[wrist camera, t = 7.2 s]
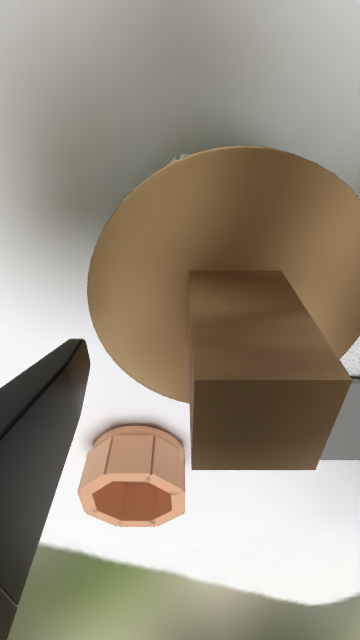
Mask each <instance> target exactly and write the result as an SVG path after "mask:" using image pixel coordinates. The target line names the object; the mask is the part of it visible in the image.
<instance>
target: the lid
mask: <svg viewBox="0 0 360 640" xmlns="http://www.w3.org/2000/svg"><path fill="white" fill-rule="evenodd" d="M87 296H88V305H89V311H90V315H91V319H92V322H93V326H94V328H95V331H96V333H97V335H98V337H99V340H100V341H101V343H102V345H103V346H104V348H105V350H106V351H107V353H108V354H109V355H110V356H111V358H112V359H113V360H114V361H115V363H116V364H117V365H118V366H119V367H120V368H121V369H122V370H123V371H124V372H125V373H127V374H128V375H129V376H130V377H132V378H133V379H134V380H136V381H137V382H138V383H140V384H142V385H143V386H145V387H147V388H148V389H150V390H152V391H154V392H156V393H159V394H161V395H163V396H165V397H168V398H171V399H174V400H177V401H181V402H186V403H190V431H191V465H192V470H315V469H316V467H317V464H318V462H319V460H320V457H321V455H322V452H323V450H324V448H325V445H326V443H327V440H328V438H329V436H330V433H331V431H332V428H333V426H334V424H335V421H336V419H337V417H338V414H339V412H340V409H341V407H342V405H343V402H344V400H345V397H346V395H347V393H348V390H349V388H350V385H351V383H352V381H353V380H352V378H351V377H350V375H349V374H348V372H347V371H346V369H345V368H344V366H343V365H342V363H341V361H340V360H339V359H340V358H341V357H342V356H343V355H344V354H345V353H346V352H347V351H348V350H349V348H350V347H351V346H352V345H353V343H354V342H355V341H356V340H357V338H358V337H359V335H360V199H359V198H358V197H357V195H356V194H355V193H354V192H353V190H352V189H351V188H350V187H349V186H347V185H346V184H345V183H344V182H343V181H342V180H341V179H340V178H338V177H337V176H336V175H335V174H333V173H332V172H330V171H328V170H327V169H325V168H323V167H322V166H320V165H319V164H317V163H314V162H312V161H310V160H307V159H305V158H302V157H300V156H297V155H295V154H292V153H289V152H285V151H280V150H276V149H272V148H267V147H258V146H244V145H241V146H228V147H218V148H214V149H209V150H205V151H200V152H196V153H194V154H191V155H189V156H186V157H183V158H181V159H178V160H176V161H174V162H172V163H170V164H168V165H167V166H165V167H163V168H161V169H159V170H158V171H156V172H155V173H153V174H152V175H151V176H149V177H148V178H147V179H145V180H144V181H143V182H141V183H140V184H139V185H138V186H137V187H136V188H135V189H134V190H133V191H132V192H131V193H130V194H129V195H128V196H127V197H126V198H125V199H124V200H123V201H122V203H121V204H120V206H119V207H118V208H117V210H116V211H115V212H114V214H113V215H112V216H111V218H110V219H109V221H108V222H107V224H106V226H105V227H104V229H103V231H102V233H101V235H100V237H99V239H98V241H97V244H96V246H95V249H94V252H93V255H92V258H91V262H90V268H89V273H88V286H87Z"/></svg>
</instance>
